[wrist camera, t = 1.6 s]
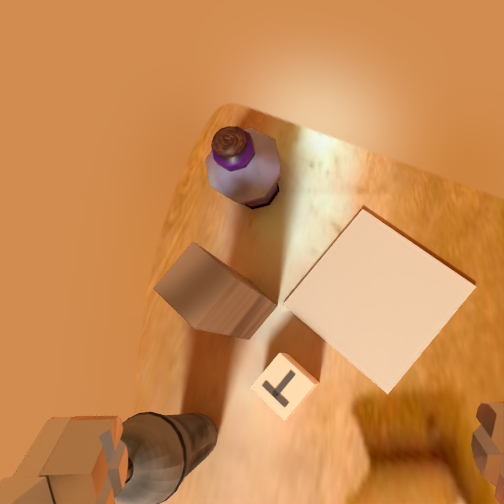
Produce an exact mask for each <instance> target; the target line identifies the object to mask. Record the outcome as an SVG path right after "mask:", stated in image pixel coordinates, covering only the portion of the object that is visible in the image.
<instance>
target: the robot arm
mask: <svg viewBox="0 0 504 504" xmlns="http://www.w3.org/2000/svg"><path fill="white" fill-rule="evenodd" d="M476 417H477V419H478V420H479V422H480V423H481V425H480V426H479V427H478V428H477V429H476V430H475V431H474V432H473V436H472V444H471V445H472V451H473V457H474V460H475V463H476V465H477V468H478V469H479V471H480V473H481V474H482V476H483V478H485V479H486V480H488V481H489V482H490V483H492V484H493V485H495V486H496V492H495V497H496V499H497V500H498V502H499V504H504V402H484V403H481V404H480V406H479V407H478V410H477V415H476ZM122 432H123V425H122V422H121V418H120V417H118V416H75V417H52V418H51V419H50V420H48V421H47V422H46V424H45V425H44V427H43V428H42V430H41V432H40V433H39V435H38V436H37V438H36V440H35V441H34V443H33V445H32V446H31V448H30V449H29V451H28V453H27V454H26V456H25V457H24V459H23V461H22V462H21V464H20V465H19V467H18V469H17V470H16V472H15V473H14V475H13V477H12V478H4V479H3V480H1V481H0V504H115V499H114V498H115V497H116V496H117V495H118V494H119V493H120V492H121V491H122V490H123V487H124V484H125V480H126V476H127V468H128V452H127V446H126V444H125V443H124V442H123V441H121V440H120V438H121V435H122Z"/></svg>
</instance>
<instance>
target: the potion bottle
mask: <svg viewBox="0 0 504 504" xmlns="http://www.w3.org/2000/svg"><path fill="white" fill-rule="evenodd" d="M211 145H212V151H211V153H210V154H209V155H208V157H207V158H206V164H207V172H208V179H209V186H210V187H212V188H214V189H215V190H217V191H218V192H220V193H222V194H223V195H225V196H226V197H228V198H230V199H231V200H233V201H235V202H237V203H240V204H242V205H243V204H244V205H246V206H248V207H249V208H251V209H256V208H260V207H264V206H268V205H270V204H271V202H272V201H273V199H274V198H275V196H276V195H277V193H278V192H279V185H278V181H279V180H280V162H279V157H278V152H277V147H276V142H275V140H274V139H273V138H271V137H269V136H267V135H265V134H263V133H261V132H259V131H257V130H256V129H254V128H252V127H250V128H247V129H241V128H239V127H237V126H236V127H225V128H222V129H220V130H219V131H218V132H216V134H215V135H214V137H213V140H212V144H211Z"/></svg>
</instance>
